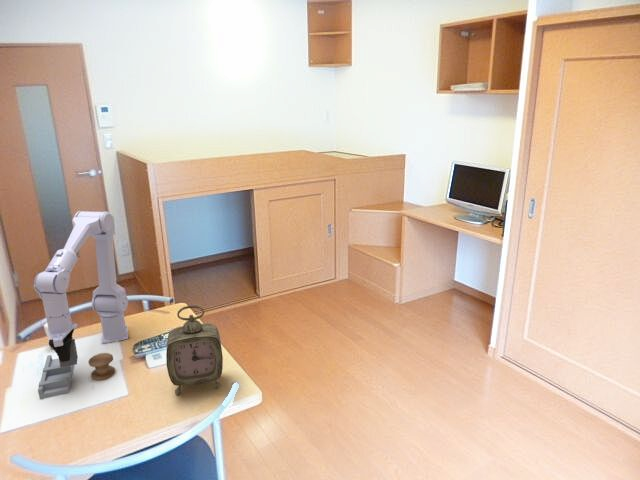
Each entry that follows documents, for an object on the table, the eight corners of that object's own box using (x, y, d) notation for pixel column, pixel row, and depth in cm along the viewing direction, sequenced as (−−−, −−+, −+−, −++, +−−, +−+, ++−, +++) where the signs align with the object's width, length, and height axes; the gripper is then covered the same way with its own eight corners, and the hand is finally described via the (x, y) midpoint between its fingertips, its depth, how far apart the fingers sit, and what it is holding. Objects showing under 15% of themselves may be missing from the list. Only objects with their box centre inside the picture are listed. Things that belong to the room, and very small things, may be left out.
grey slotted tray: (49, 363, 140) (47, 354, 139) (74, 358, 143) (73, 349, 142) (39, 398, 124) (37, 388, 123) (68, 392, 127) (66, 382, 126)
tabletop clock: (170, 399, 124) (160, 316, 116) (171, 379, 132) (162, 301, 124) (225, 390, 128) (219, 309, 120) (222, 372, 136) (216, 295, 128)
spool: (92, 370, 137) (89, 355, 135) (115, 365, 139) (112, 351, 137) (90, 382, 131) (87, 367, 129) (115, 377, 133) (112, 362, 132)
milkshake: (46, 345, 150) (40, 318, 147) (64, 341, 152) (59, 314, 149) (45, 352, 146) (39, 324, 143) (64, 348, 148) (58, 320, 145)
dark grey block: (62, 359, 131) (58, 341, 129) (77, 357, 133) (74, 338, 131) (60, 367, 128) (56, 348, 126) (76, 364, 129) (73, 345, 127)
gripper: (71, 322, 120) (80, 367, 125) (76, 299, 133) (83, 341, 137) (40, 327, 118) (50, 372, 122) (48, 304, 130) (57, 345, 135)
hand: (66, 356), depth 129 cm, fingers closed on dark grey block, 4 cm apart
